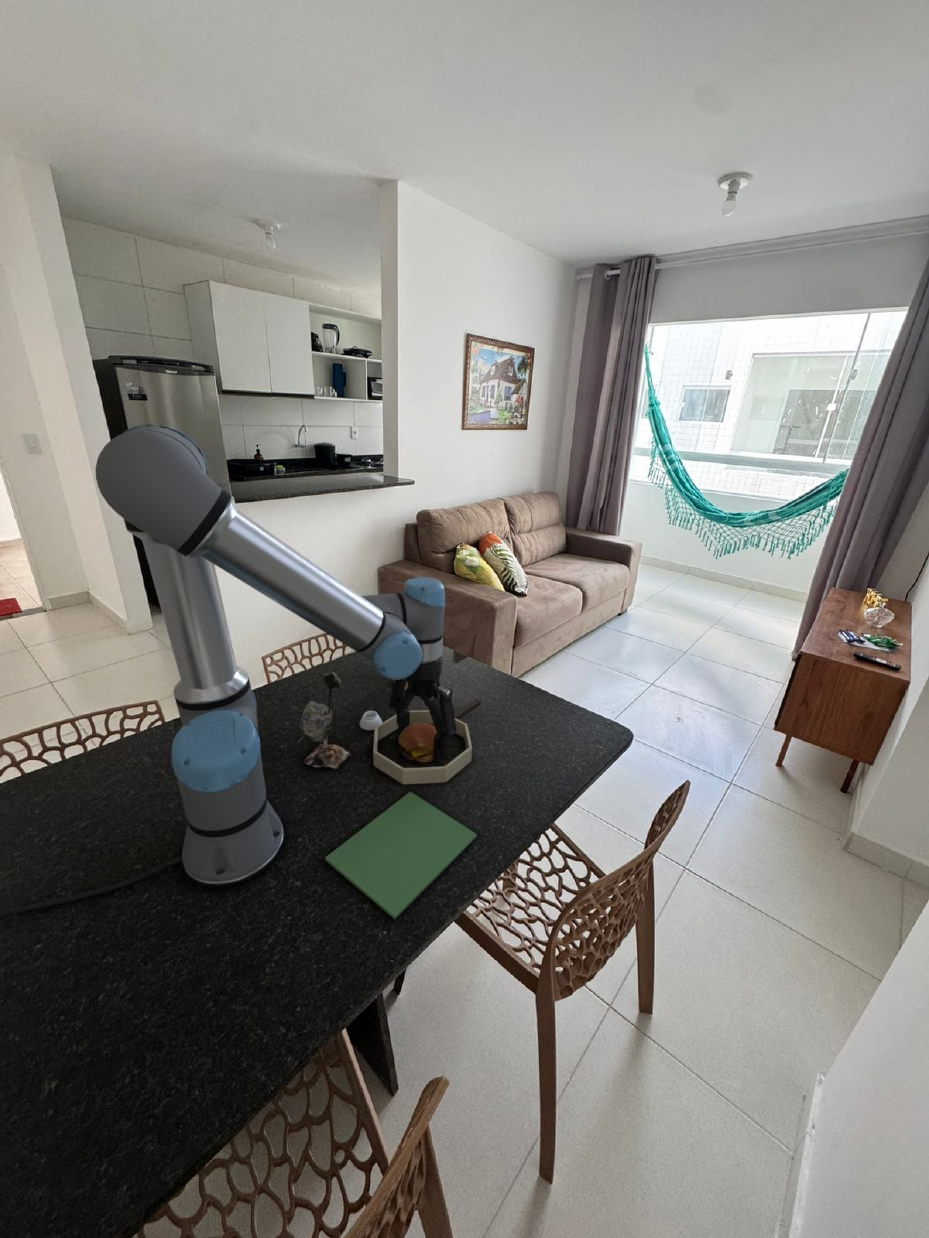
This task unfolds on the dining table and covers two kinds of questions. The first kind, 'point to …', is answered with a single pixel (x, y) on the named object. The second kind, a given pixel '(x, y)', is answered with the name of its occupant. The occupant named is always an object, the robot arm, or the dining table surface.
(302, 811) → the dining table surface
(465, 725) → the pan
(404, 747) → the burger
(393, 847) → the napkin mat
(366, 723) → the white upturned bowl
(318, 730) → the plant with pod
